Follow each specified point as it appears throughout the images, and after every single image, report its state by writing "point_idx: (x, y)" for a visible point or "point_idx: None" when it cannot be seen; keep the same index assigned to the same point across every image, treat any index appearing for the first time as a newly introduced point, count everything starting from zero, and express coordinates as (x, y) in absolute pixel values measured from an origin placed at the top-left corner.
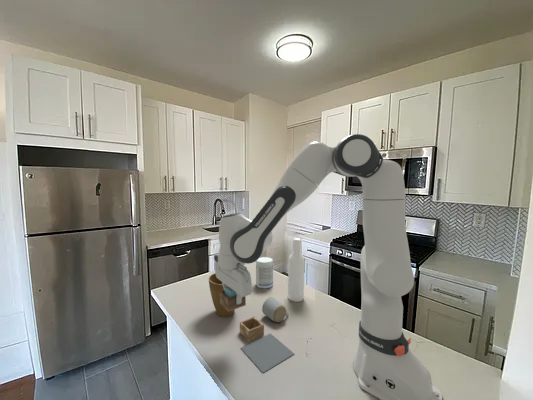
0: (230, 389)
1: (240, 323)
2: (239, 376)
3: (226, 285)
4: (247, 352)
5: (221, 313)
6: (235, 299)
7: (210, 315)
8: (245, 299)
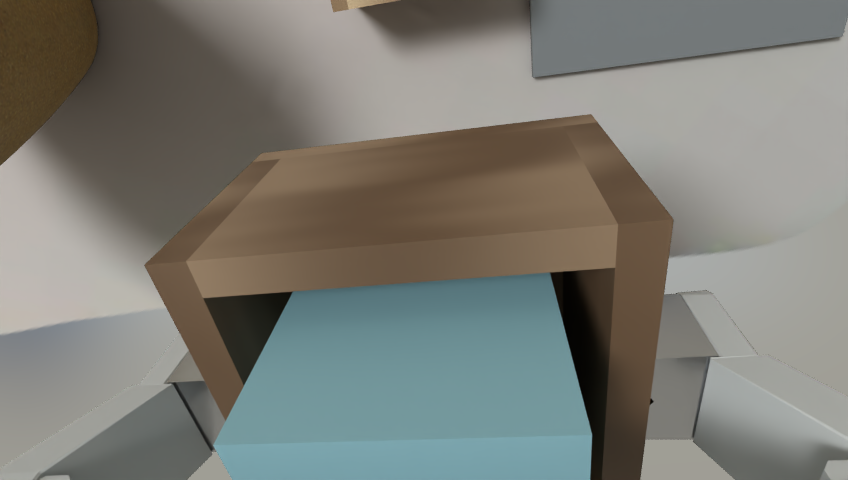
0: (761, 241)
1: (347, 8)
2: (729, 173)
3: (114, 475)
4: (606, 51)
5: (80, 79)
6: (660, 422)
7: (60, 140)
8: (620, 153)
